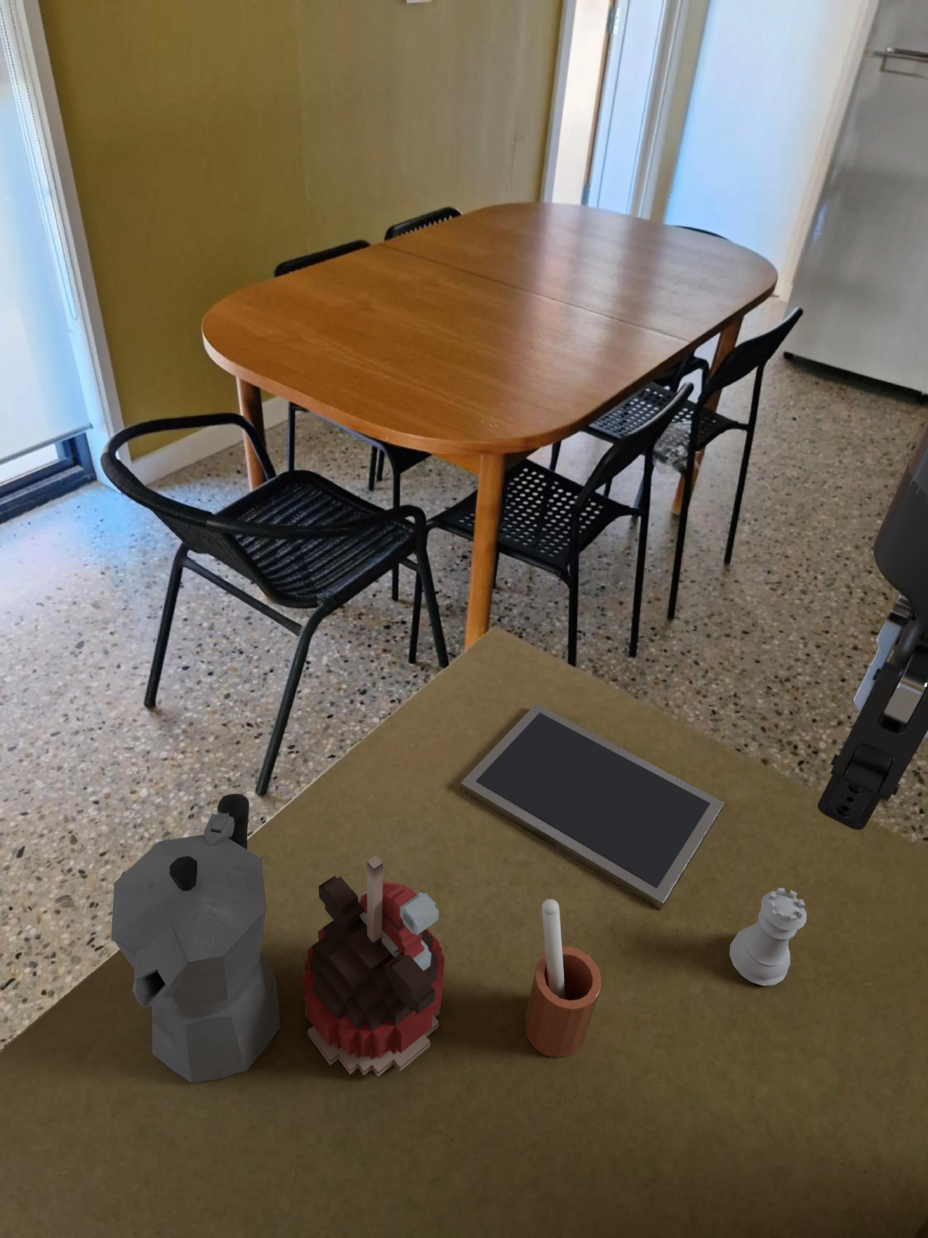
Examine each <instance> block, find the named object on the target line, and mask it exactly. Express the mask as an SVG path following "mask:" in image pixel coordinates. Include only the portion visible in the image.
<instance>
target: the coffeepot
mask: <svg viewBox="0 0 928 1238" xmlns="http://www.w3.org/2000/svg"><path fill="white" fill-rule="evenodd" d="M249 801H250V800H249V799H248V797H246V795H244V794H242V793H230V794H225V795H223V796H222V797H221V799H220V800H219V801H218V804H217V809H216V810H217V814H216V813H211V814H210V817H209V819H208V822H207V824H206V826H205V828H204V831H203V834H197V835H190V836H184V837H178V838H171V839H166V840H158V841H157V843H155V844H154V845H153V846H152V847H151V848H150V849H149V850H147V852H146V853H144V854H143V855H142V856H141V857H140V858H139V859H138V860H137V861H136V862H135V863H134V864H133V865H131V866H130V867H129V868H128V869H127V870H126V871H125V872H124V873H123V874H122V875H120V877H118V878H117V879H116V880H115V881H114V882H113V897H112V916H111V917H112V918H111V932H110V933H111V934H110V936H111V939H112V940H113V941H114V943H115V944H116V946H117V947H118V948H119V950H120V951H121V953H122V954H123V956H124V957H125V959H126V960H127V961H128V963H129V965H130V966H131V967H132V969H133V970H134V972H133V973H134V974H133V986H132V993H133V995H134V998H135V1000H136V1002H137V1003H138V1005H140V1006H141V1007H142V1008H146V1009H147V1008H151V1009H152V1010H151V1011H152V1012H151V1015H152V1016H151V1054H152V1055H153V1056H154V1057H155V1058H157V1059H158V1060H159V1061H160V1062H162V1063H163V1064H164V1065H165V1066H167V1068H168V1069H170V1071H172V1072H174V1073H176V1074H178V1075H179V1076H181V1077H182V1078H184V1079H185V1080H186V1081H187V1082H189V1083H190V1084H195V1083H201V1082H208V1081H209V1082H210V1081H216V1080H221V1079H226V1078H229V1077H231V1076H233V1075H236V1074H240V1073H241V1074H242V1073H245V1072H247V1071H248V1070H249V1069H250V1068H251V1066H252V1065H253V1064H254V1063H255V1061H256V1060H257V1059H258V1058H259V1057H260V1056H261V1055H262V1054H263V1053H264V1052H265V1051H266V1049H267V1048H268V1046H269V1045H270V1043H271V1041H272V1040H273V1038H274V1037H275V1036H276V1034H277V1033H278V1032H279V1030H280V1029H281V1027H282V1026H281V1024H282V1023H281V1015H280V1005H279V994H278V984H277V983H278V982H277V979H276V977H275V975H274V972H273V970H272V968H271V967H270V965H269V963H268V961H267V959H266V957H265V955H264V953H263V951H262V945H263V938H264V937H263V936H264V928H265V920H266V913H267V904H266V903H267V900H266V891H265V879H264V869H263V859H262V857H260V856H258V855H257V854H255V853H254V852H252V851H250V850H248V829H249V816H250V815H249V814H250V802H249Z"/></svg>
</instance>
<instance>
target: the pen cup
mask: <svg viewBox="0 0 928 1238" xmlns="http://www.w3.org/2000/svg"><path fill="white" fill-rule="evenodd" d="M562 956H563V971H564V986H565V999H561V998H559V997H558V996H556V995H555V994H553V993H552V992H551V990H550V989H549V987H548V975H547V963H546V952H544V953H543V954H542V955H541V957H540V959H539V960H538V961H537V963H536V966H535V971H534V974H533V979H532V984H531V988H530V993H529V997H528V1001H527V1005H526V1010H525V1016H524V1020H523V1021H524V1022H523V1027H524V1032H525V1036H526V1038H527V1040H528V1041H529V1043H530V1044H531V1046H532V1047H533V1048H534V1049H535V1050H536V1051H538V1052H539V1053H540V1054H541V1055H544V1056H547V1057H549V1058H556V1059H557V1058H558V1059H560V1058H566V1057H569V1056H572V1055H573V1054H574V1053H576V1052H577V1051H578V1050H579V1049H580V1048H581V1046H582V1045H583V1043H584V1041H585V1039H586V1036H587V1033H588V1030H589V1027H590V1023H591V1021H592V1018H593V1014H594V1011H595V1008H596V1005H597V1002H598V999H599V996H600V993H601V987H602V976H601V972H600V969H599V967H598V965H597V964H596V963H595V961H594V960H593V958H592V957H591V956H590V955H589V954H587V953H585V952H584V951H583V950H581V949H578V948H576V947H571V946H567V945H566V946H562Z"/></svg>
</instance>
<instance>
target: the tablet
mask: <svg viewBox="0 0 928 1238" xmlns="http://www.w3.org/2000/svg"><path fill="white" fill-rule="evenodd" d="M459 786H460V787H459V790H460V791H461V792H463V793H465V794H466V795H468V796H470V797H471V798H473V799H475V800H477V801H478V802H479V803H482V804H483V805H484V806H486V807H488V808H490V809H491V810H493V811H494V812H497V813H498V814H500V815H501V816H503V817H504V818H506V819H508V820H510V821H512V822H513V823H515V824H516V825H518V826H520V827H522V828H523V829H524V830H527V831H528V832H530V833H531V834H533V835H534V836H535V837H536V836H537V837H538V838H540V839H541V840H543V841H545V842H546V843H548V844H549V845H551V846H553V847H554V848H557V849H558V850H560V851H561V852H563V853H565V854H567V855H568V856H570V857H571V858H573V859H575V860H577V861H578V862H580V863H582V864H583V865H584V866H586V867H588V868H589V869H592V870H593V871H594V872H596V873H598V874H600V875H601V876H603V877H605V878H607V879H608V880H610V881H611V882H613V883H615V884H616V885H618V886H619V887H622V888H623V889H625V890H626V891H628V892H630V893H632V894H633V895H635V896H637V897H638V898H639V899H642V900H643V901H645V902H646V903H648V904H649V905H651V906H653V907H655V908H657V909H658V910H662V909H663V907H664V905H665V904H666V903H667V901H668V899H669V898H670V895H671V894H672V892H673V891H674V889H675V887H676V886H677V884H678V882H679V881H680V880H681V877H682V876H683V875H684V872H685V871H686V870H687V868H688V867H689V864H690V863H691V861H692V860H693V858H694V857H695V855H696V853H697V851H698V850H699V848H700V847H701V845H702V843H703V842H704V840H705V839H706V837H707V835H708V834H709V832H710V830H711V829H712V827H713V825H714V824H715V822H716V821H717V819H718V818H719V815H720V814H721V812H722V811H723V809H724V806H725V802H724V801H723V800H721V799H719V798H717V797H715V796H714V795H712V794H709V793H707V792H706V791H703V790H702V789H700V788H698V787H696V786H694V785H692V784H691V783H689V782H687V781H685V780H683V779H681V778H679V777H678V776H676V775H673V774H671V773H670V772H668V771H666V770H664V769H662V768H660V767H658V766H656V765H655V764H653V763H651V762H649V761H647V760H646V759H643V758H641V757H639V756H638V755H635V754H633V753H632V752H630V751H628V750H626V749H624V748H622V747H621V746H619V745H617V744H614V743H613V742H611V741H609V740H607V739H605V738H604V737H601V736H599V735H597V734H596V733H594V732H592V731H591V730H588V729H587V728H584V727H582V726H581V725H578V724H577V723H575V722H573V721H571V720H569V719H567V718H566V717H564V716H562V715H560V714H558V713H556V712H554V711H552V710H550V709H548V708H547V707H545V706H542V705H541V704H539V703H535V704H534V705H533V706H532V707H531V708H530V709H529V710H528V711H527V712H526V714H524V715H523V716H522V718H521V719H520V720H519V721H518V722H516V724H515V725H514V726H513V727H512V728H511V729H510V730H509V731H508V732H507V733H506V734H505V736H504V737H503V738H501V740H500V741H499V742H497V744H496V745H495V746H493V748H492V749H491V750H490V751H489V752H488V753H487V754H486V755H485V756H484V757H483V759H481V761H479V763H478V764H477V765H476V766H475V767H473V769H472V770H471V771H470V772H469V773H468V774H467V775H466V776H465V778H463V780H462V781H461V782H460V785H459Z"/></svg>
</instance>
